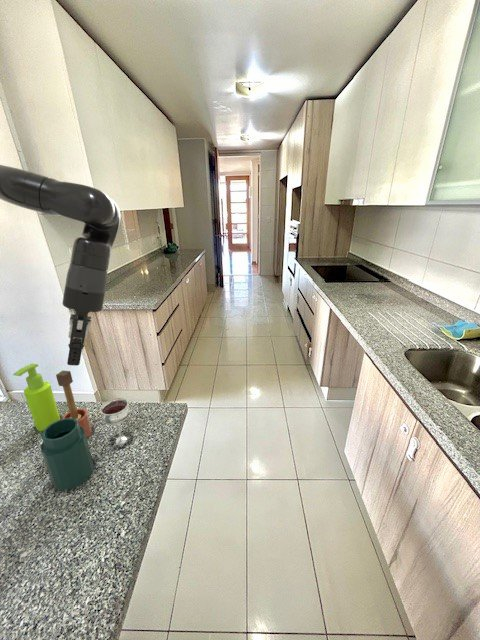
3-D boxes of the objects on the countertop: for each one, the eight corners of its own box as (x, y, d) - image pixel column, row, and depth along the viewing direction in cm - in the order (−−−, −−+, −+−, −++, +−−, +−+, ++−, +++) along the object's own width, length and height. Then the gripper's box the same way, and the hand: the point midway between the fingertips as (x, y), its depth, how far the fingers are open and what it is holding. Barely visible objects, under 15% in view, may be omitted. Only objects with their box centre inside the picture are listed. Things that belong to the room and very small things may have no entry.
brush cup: (62, 442, 70) (56, 422, 68) (77, 427, 76) (72, 407, 73) (82, 445, 69) (76, 424, 67) (96, 429, 75) (91, 409, 72)
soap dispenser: (27, 432, 73) (5, 372, 66) (49, 416, 80) (32, 359, 72) (44, 436, 72) (24, 375, 65) (65, 419, 78) (48, 361, 71)
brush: (71, 437, 71) (53, 375, 64) (78, 430, 74) (62, 369, 67) (80, 439, 71) (63, 376, 64) (87, 431, 73) (72, 370, 66)
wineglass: (102, 443, 70) (94, 407, 66) (125, 428, 75) (119, 394, 71) (116, 456, 66) (108, 419, 62) (139, 439, 72) (133, 404, 67)
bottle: (44, 488, 58) (26, 441, 53) (71, 458, 66) (58, 413, 61) (77, 494, 57) (63, 445, 52) (101, 462, 65) (90, 417, 60)
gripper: (68, 279, 60) (57, 345, 62) (62, 288, 48) (49, 369, 50) (104, 286, 64) (93, 348, 66) (106, 295, 52) (93, 370, 54)
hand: (74, 357), depth 58 cm, fingers open, 8 cm apart
